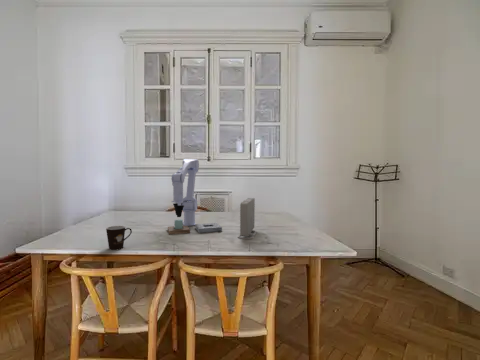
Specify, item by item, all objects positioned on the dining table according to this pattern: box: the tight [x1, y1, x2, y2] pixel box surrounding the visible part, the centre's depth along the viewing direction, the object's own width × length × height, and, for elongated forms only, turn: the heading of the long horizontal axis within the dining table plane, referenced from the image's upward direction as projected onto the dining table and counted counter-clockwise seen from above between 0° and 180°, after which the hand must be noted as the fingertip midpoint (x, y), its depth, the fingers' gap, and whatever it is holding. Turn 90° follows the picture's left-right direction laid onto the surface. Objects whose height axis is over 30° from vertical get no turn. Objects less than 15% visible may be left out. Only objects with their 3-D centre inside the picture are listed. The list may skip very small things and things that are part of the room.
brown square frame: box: [167, 225, 191, 235], centre depth 181 cm, size 12×12×2 cm
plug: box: [173, 218, 184, 229], centre depth 181 cm, size 3×4×7 cm
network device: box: [237, 197, 258, 240], centre depth 173 cm, size 26×9×20 cm, turn 168°
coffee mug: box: [105, 225, 132, 251], centre depth 146 cm, size 12×9×10 cm
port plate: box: [194, 222, 223, 234], centre depth 186 cm, size 14×14×2 cm
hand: (178, 215), depth 181 cm, fingers open, 7 cm apart
